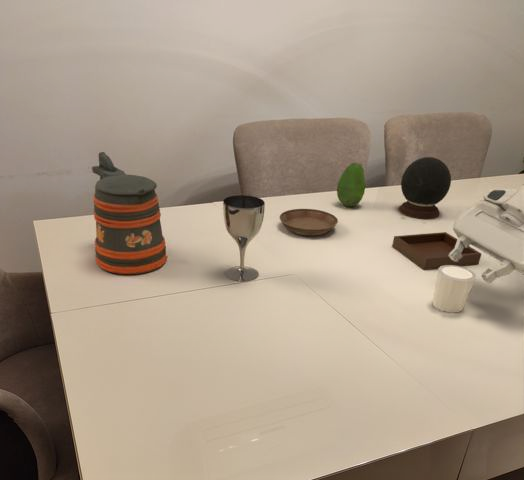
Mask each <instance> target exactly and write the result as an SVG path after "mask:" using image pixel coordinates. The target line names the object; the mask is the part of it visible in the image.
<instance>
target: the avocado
mask: <svg viewBox="0 0 524 480" xmlns="http://www.w3.org/2000/svg"><path fill="white" fill-rule="evenodd" d="M365 179H366V178H365V172H364V168H363V166H362V164H361V163H358V162H352V163H351V164H349V165H348V166H347V167H346V168H345V169H344V170H343V172H342V174H341V176H340V178H339V180H338V182H337V186H336V194H337V198H338V201H339V202H340V204H342V205H343V206H345V207H348V208H352V207H355V206H357V205H358V204H359V203H360V202H361V201H362V200H363V197H364V195H365V191H366V181H365Z"/></svg>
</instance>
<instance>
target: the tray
mask: <svg viewBox="0 0 524 480" xmlns="http://www.w3.org/2000/svg"><path fill="white" fill-rule="evenodd" d="M457 240H458V238H456V237H455V236H453V235H451V233H448V232H446V231H441V232H430V233H418V234H417V233H416V234H405V235H395V236H393V239H392V245H391V247H392V248H394V249H395V250H396V251H398V253H401V254H402V255H403V256H404V257H406V258H407V259H408V260H409V261H411V262H412V263H414V264H415V265H416V266H418V267H419V268H421V269H422V270H423V271H426V270H427V271H429V270H436V269H437V270H438V268H439V267H441V266H444V265H455V266H461V267H465V266H476V265H479V264H480V260H481V258H482V252H480V251H478V250H476V249H475V248H473V247H471V246H470V245H469V246H468V247H467V248H465V247H464V249H463V251H462V253H461V254H462V256H463V257H462V258H461V259H459V261H458V262H455V261H453V260H452V259H450V257H449V253H450V252H451V251H452V250H453V249H454V248H455V245H456V242H457Z"/></svg>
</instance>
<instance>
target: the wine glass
mask: <svg viewBox="0 0 524 480" xmlns="http://www.w3.org/2000/svg"><path fill="white" fill-rule="evenodd" d="M265 206H266V202H265V201H264V200H263V199H262V198H260V197H257V196H254V195H253V196H252V195H242V194H241V195H238V194H237V195H231V196H228V197H225V198H224V199H223V201H222V213H223V223H224V226H225V230H226V231H227V232H228V235H230V237H231V238H232V239H233V240H234V241H235V243H236V244H237V246H238V249H239V258H240V259H239V265H234V266H231V267H228V268H226V269H225V271H224V276H225V277H226V278H228V279H229V280H233V281H236V282H248V281H253V280H256V279H257V278H258V277H259V276H260V273H259V271H258V270H257V269H255V268H254V267H250V266H246V265H245V256H246V250H247V247H248V245H249V244H250V242H251V241H253V239H255V237H257V235H258V234H259V233H260V231H261V229H262V225H263V222H264V217H265V210H266V209H265Z"/></svg>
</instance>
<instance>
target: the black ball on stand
mask: <svg viewBox="0 0 524 480" xmlns="http://www.w3.org/2000/svg"><path fill="white" fill-rule="evenodd" d="M400 182H401V183H400V189H401V192H402V195H403V197H404V198H405V200H406V201H405V202H402V203H401V205H400V206H399V208H398V211H399V213H400V214H402V215H403V216H405V217H409V218H413V219H419V220H434V219H437V218H439V216H440V214H441V213H440V210H439V207H438V206H436V205H437V204H438V203H441V201H442V200H444V198H445V197H447V195H448V193H449V191H450V189H451V185H452V174H451V172H450V169H449V167H448V166H447V165H446V163H445V162H443V161H442V160H441V159H439V158H437V157H433V156H426V157H425V156H424V157H421V158H418V159H416V160H414V161H412V163H410V164H409V165H408V166H407V168H405V170H404V172H403V173H402V176H401V181H400Z"/></svg>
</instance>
